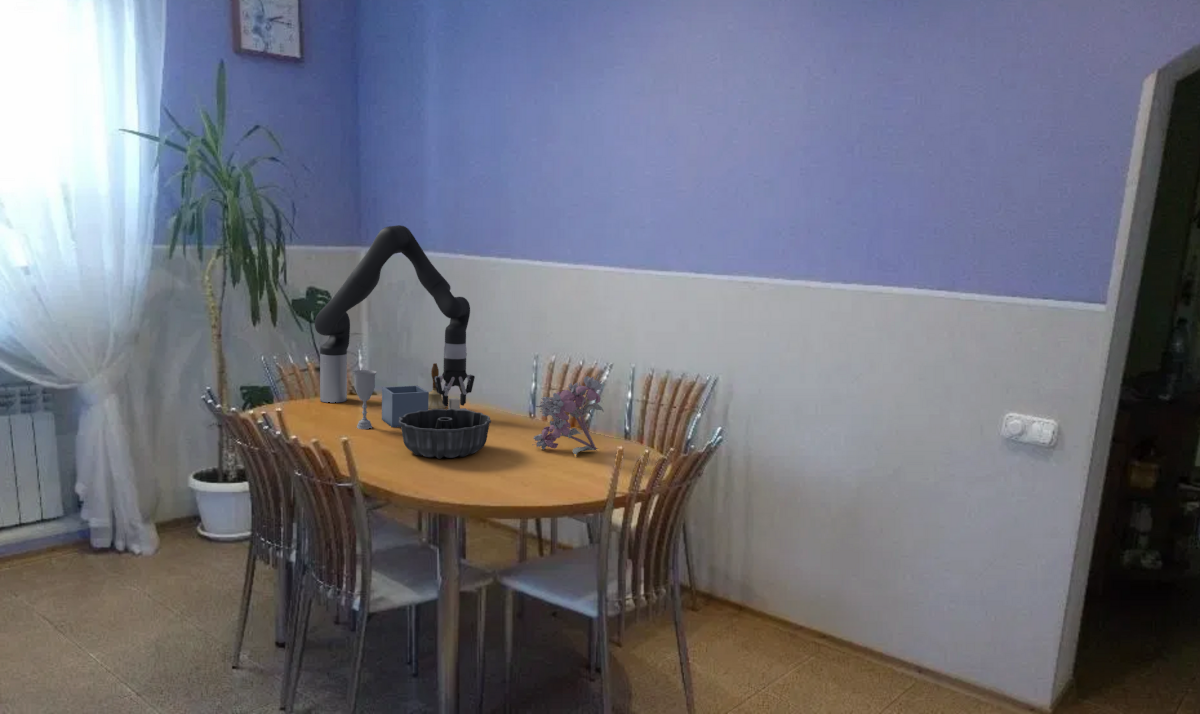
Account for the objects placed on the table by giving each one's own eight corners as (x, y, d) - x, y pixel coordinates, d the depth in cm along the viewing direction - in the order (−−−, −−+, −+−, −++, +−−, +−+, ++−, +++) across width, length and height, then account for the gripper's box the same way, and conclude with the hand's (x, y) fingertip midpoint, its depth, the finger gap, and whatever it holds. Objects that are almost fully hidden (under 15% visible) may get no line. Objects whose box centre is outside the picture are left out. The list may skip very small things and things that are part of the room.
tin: (381, 419, 285) (382, 387, 283) (416, 417, 291) (417, 385, 289) (391, 427, 275) (392, 394, 273) (428, 424, 281) (428, 392, 279)
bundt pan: (406, 466, 232) (406, 430, 231) (391, 442, 256) (391, 410, 255) (500, 461, 242) (501, 426, 241) (477, 438, 266) (478, 407, 265)
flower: (578, 432, 273) (550, 365, 264) (629, 440, 257) (601, 368, 248) (535, 469, 261) (504, 399, 252) (586, 479, 245) (555, 405, 236)
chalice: (379, 425, 276) (379, 370, 274) (371, 430, 270) (372, 374, 267) (357, 424, 277) (357, 369, 274) (349, 429, 270) (349, 372, 268)
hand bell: (446, 409, 305) (447, 365, 303) (423, 409, 303) (423, 365, 301) (445, 404, 313) (446, 361, 311) (422, 404, 311) (423, 361, 309)
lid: (429, 416, 294) (429, 396, 293) (465, 414, 300) (465, 394, 299) (441, 425, 283) (442, 403, 281) (478, 422, 289) (479, 401, 288)
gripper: (471, 354, 295) (470, 402, 297) (430, 355, 288) (430, 404, 290) (479, 357, 288) (477, 406, 291) (438, 358, 281) (437, 409, 284)
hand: (454, 405), depth 291 cm, fingers open, 5 cm apart
